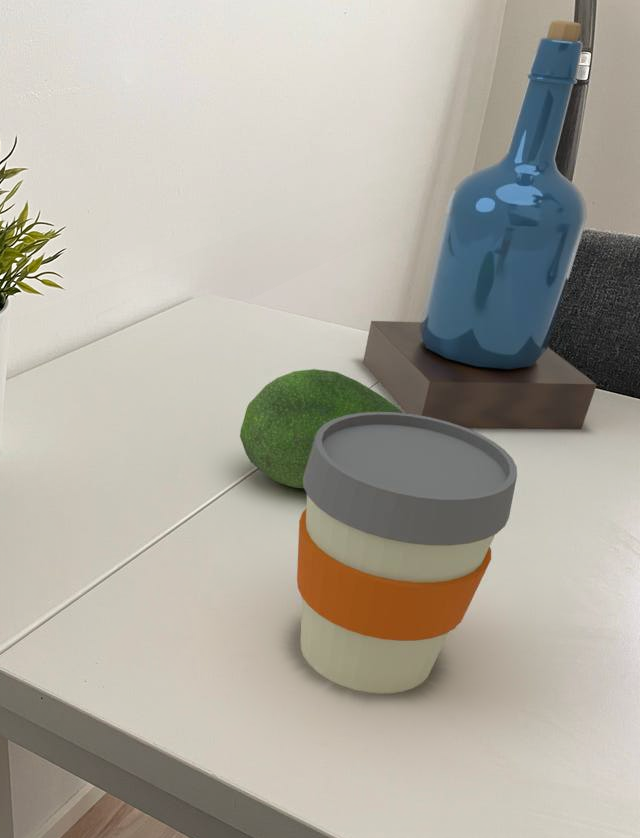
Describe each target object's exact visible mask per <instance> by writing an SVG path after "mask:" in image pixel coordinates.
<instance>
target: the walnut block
mask: <svg viewBox="0 0 640 838" xmlns="http://www.w3.org/2000/svg"><path fill="white" fill-rule="evenodd" d="M420 323H421V321H395V320H394V321H392V320H391V321H390V320H389V321H388V320H386V321H385V320H371V321H370V325H369V330H368V335H367V340H366V344H365V350H364V354H363V360H362V364H363V365H364V366H365V367H366V369H367V370H368V371H369V372H370V373H371V375H373V377H374V378H375V379H376V380H377V382H378V383H379V384H380V385H381V386H382V388H384V390H385V391H386V392H387V393H388V394H389V395H390V397H391V398H392V399H393V400H394V401H395V402H396V404H397V405H398V406H399V407H400V408H401V409H402V411H403V413H406V414H414V415H420V416H425V417H431V418H435V419H439V420H443V421H446V422H450V423H453V424H456V425H459V426H462V427H465V428H467V429H477V430H479V429H483V430H485V429H486V430H487V429H488V430H489V429H493V430H497V429H498V430H500V429H501V430H503V429H504V430H516V429H517V430H582V428H583V426H584V423H585V420H586V417H587V414H588V411H589V409H590V405H591V403H592V399H593V397H594V395H595V391H596V388H597V385H598V384H597V383H595V381H593V380H592V379H590V377H588V376H586V374H584V373H582V372H581V371H580V370H579V369H578V368H576V367H575V366H573V365H572V364H571V363H569V362H568V361H567V360H565V359H564V358H563V357H562V356H560V355H559V354H558V353H556V352H555V351H554V350H552V348H550V347H549V346H548V347H547V350H546V351H545V352H544V354H543V355H542V356H541V357H540V358H539V359H538V360H537V361H536V362H535V363H534V364H533V365H532V366H528V367H521V368H513V369H494V368H483V367H475V366H471V365H467V364H463V363H460V362H456V361H452V360H449V359H447V358H445V357H443V356H441V355H439V354H437V353H435V352H434V351H432V350H430V349H428V348H426V346H425V344H424V342H423V340H422V338H421V335H420V329H419V327H420Z"/></svg>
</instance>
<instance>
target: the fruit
mask: <svg viewBox="0 0 640 838" xmlns="http://www.w3.org/2000/svg"><path fill="white" fill-rule="evenodd" d="M365 412H396V413H404V411H403V410H401V409H399V408H398V407H397V406H396V405H394V404H393V403H392V402H391V401H389V400H388V399H386V398H385V397H383V396H382V395H381V394H380V393H378V392H377V391H374V390H373V389H372V388H369V387H368V386H366V385H364V384H363V383H361V382H359V381H358V380H355V379H354V378H351V377H350V376H346V375H344V374H342V373H339V372H338V371H334V370H333V371H332V370H325V369H318V368H317V369H316V368H312V369H304V370H303V369H302V370H297V371H296V370H295V371H292V372H290V373H286V374H285V375H282V376H279V377H276V378H275V379H273V380H272V381H271V382H269V383H268V384H266V385H265V386H264V387H263V388H262V389H261V390H260V391H259V392H258V393H257V395H256V396H254V398H253V399H252V400H251V401H250V402H249V403H248V404H247V407H246V410H245V414H244V418H243V421H242V424H241V427H240V433H239V438H240V441H241V444H242V446H243V449H244V451H245V454H246V457H247V458H248V459H249V461H250V463H251V464H252V465H254V467H256V468H257V469H258V470H259V471H260V472H261V473H263V474H264V475H266V476H267V477H268V478H269V479H271V480H272V481H274V482H276V483H279V484H281V485H285V486H287V487H290V488H294V489H295V488H296V489H304V486H303V476H304V473H305V469H306V466H307V463H308V459H309V456H310V453H311V449H312V446H313V443H314V439H315V436H316V434H317V431H318V430H319V429H320V428H321V427H322V426H323V425H324V424H325V423H327V422H329V421H331V420H333V419H335V418H338V417H342V416H345V415H350V414H356V413H365Z"/></svg>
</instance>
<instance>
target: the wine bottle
mask: <svg viewBox="0 0 640 838" xmlns="http://www.w3.org/2000/svg"><path fill="white" fill-rule="evenodd" d="M581 30H582V24H581V23H579V22H575V21H567V20H552V21H551V22H550V25H549V27H548V32H547V36H546V37H545V36H544V37H541V38H540V39H539V42H538V45H537V48H536V50H535V53H534V56H533V58H532V62H531V65H530V67H529V70H528V71H529V73H527V74H526V75H525V76H526V79H527V84H526V87H525V91H524V94H523V98H522V101H521V104H520V108H519V112H518V114H517V118H516V122H515V125H514V129H513V132H512V136H511V140H510V142H509V146H508V149H507V152H506V154H505V155H504V156H503V157H502V158H501V159H500V160H499V161H498V162H496V163H494V164H492V165H489V166H486V167H484V168H481V169H478V170H476V171H475V172H473V173H471V174H469V175H468V176H466V177H465V178H464V179H462V181H460V182H459V184H457V186H456V187H455V188H454V189H453V191H452V193H451V194H450V196H449V198H448V202H447V206H446V210H445V214H444V218H443V223H442V227H441V231H440V236H439V241H438V245H437V249H436V253H435V258H434V262H433V267H432V270H431V275H430V280H429V284H428V289H427V293H426V296H425V297H426V298H425V302H424V306H423V311H422V315H421V319H420V322H421V323H420V327H419V329H420V335H421V338H422V340H423V342H424V344H425V346H426V348H428V349H430V350H432V351H434V352H435V353H437V354H439V355H441V356H443V357H445V358H447V359H449V360H452V361H456V362H460V363H463V364H467V365H471V366H475V367H483V368H494V369H513V368H521V367H528V366H532V365H533V364H534V363H535V362H536V361H537V360H538V359H539V358H540V357H541V356H542V355H543V354H544V352H545V351H546V350H547V347H548V348H549V343H550V340H551V337H552V333H553V330H554V327H555V323H556V320H557V318H558V314H559V311H560V308H561V305H562V301H563V298H564V295H565V291H566V288H567V285H568V281H569V278H570V275H571V272H572V268H573V265H574V262H575V259H576V255H577V252H578V249H579V246H580V242H581V240H582V239H581V238H582V236H583V232H584V229H585V226H586V222H587V219H588V215H587V205H586V201H585V198H584V196H583V194H582V192H581V191H580V189H578V187H577V186H576V185H575V184H574V183H573V182H572V181H570V180H569V179H568V178H567V177H566V176H564V175H563V174H562V173H561V172H560V170H558V165H557V162H556V157H557V151H558V147H559V144H560V141H561V137H562V136H561V135H562V131H563V127H564V123H565V118H566V115H567V111H568V107H569V103H570V99H571V94H572V90H573V87H574V85H575V84H577V83H578V79H576V78H577V77H578V73H579V68H580V62H581V57H582V51H583V42H582V41H580V40H579V37H580V35H581Z"/></svg>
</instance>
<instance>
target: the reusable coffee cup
mask: <svg viewBox="0 0 640 838" xmlns="http://www.w3.org/2000/svg"><path fill="white" fill-rule="evenodd" d="M517 467H518V466H517V464H516V463H515V460H514V459H513V457H512V456H511V455H510V454H509V453H508V452H507V450H506V449H504V448H503V447H502V446H500V445H499V444H498V443H496V442H495V441H493V440H491V439H490V438H488V437H486V436H484V435H483V434H481V433H479V432H477V431H474V430H472V429H470V428H465V427H462V426H459V425H456V424H453V423H450V422H446V421H443V420H439V419H435V418H431V417H425V416H420V415H414V414H406V413H405V412H403V413H396V412H365V413H356V414H350V415H345V416H342V417H338V418H335V419H333V420H331V421H329V422H327V423H325V424H324V425H323V426H322V427H321V428H320V429H319V430H318V431H317V434H316V436H315V439H314V443H313V446H312V449H311V453H310V456H309V459H308V463H307V466H306V469H305V473H304V476H303V486H304V488H303V489H304V491H305V493H306V507H305V509H304V510H303V511H302V512H301V515H300V518H299V522H298V544H297V547H298V548H297V568H296V569H297V572H296V584H297V590H298V591H299V594H300V596H301V598H302V601H301V621H300V651H301V653H302V656H303V658H304V659H305V660H306V662H307V663H308V665H309V666H310V667H311V668H312V669H313V670H314V671H316V673H318V674H320V675H321V676H322V677H324V679H326V680H329V681H331V682H333V683H335V684H336V685H339V686H342V687H345V688H348V689H350V690H354V691H359V692H363V693H370V694H383V695H384V694H396V693H397V694H398V693H403V692H406V691H410V690H412V689H415V688H416V687H418V686H420V685H422V684H423V683H424V682H425V681H426V679H428V677H429V676H430V673H431V672H432V669H433V667H434V665H435V662H436V660H437V659H438V656H439V654H440V652H441V651H442V649H443V646H444V645H445V644H444V643H445V641H446V639H447V637H448V636H449V634H450V632H451V631H453V630H455V629H456V628H457V627H458V626H459V625H460V624H461V623H462V621H463V620H464V617H465V615H466V612H467V610H468V609H469V607H470V604H471V602H472V600H473V599H474V596H475V594H476V592H477V590H478V588H479V585H480V584H481V581H482V579H483V577H484V575H485V573H486V571H487V569H488V567H489V565H490V563H491V561H492V547H491V545H492V542H493V540H494V539H495V535H497V534H498V533H499V532H500V531H501V530H502V529H503V528H505V527H506V525H507V523H508V521H509V519H510V515H511V509H512V504H513V499H514V494H515V489H516V483H517V477H518V468H517Z"/></svg>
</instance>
